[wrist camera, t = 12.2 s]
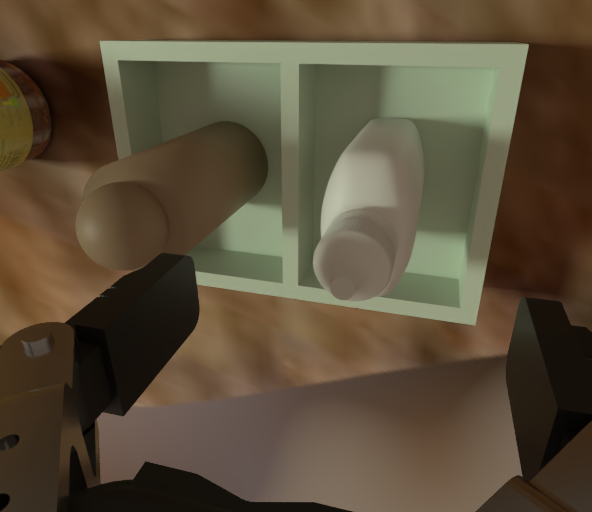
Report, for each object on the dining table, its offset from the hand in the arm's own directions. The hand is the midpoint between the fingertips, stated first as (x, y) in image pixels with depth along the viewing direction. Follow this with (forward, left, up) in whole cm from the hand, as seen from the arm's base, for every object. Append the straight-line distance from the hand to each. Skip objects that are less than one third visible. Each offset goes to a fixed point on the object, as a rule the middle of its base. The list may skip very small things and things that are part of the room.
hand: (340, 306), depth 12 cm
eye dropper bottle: (0, 0, -14) cm, 14 cm away
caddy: (0, -4, -14) cm, 15 cm away
